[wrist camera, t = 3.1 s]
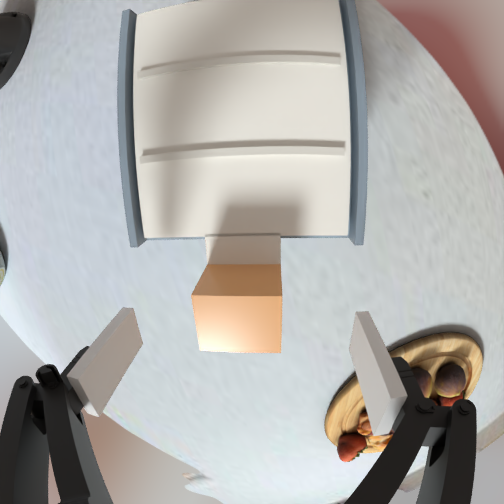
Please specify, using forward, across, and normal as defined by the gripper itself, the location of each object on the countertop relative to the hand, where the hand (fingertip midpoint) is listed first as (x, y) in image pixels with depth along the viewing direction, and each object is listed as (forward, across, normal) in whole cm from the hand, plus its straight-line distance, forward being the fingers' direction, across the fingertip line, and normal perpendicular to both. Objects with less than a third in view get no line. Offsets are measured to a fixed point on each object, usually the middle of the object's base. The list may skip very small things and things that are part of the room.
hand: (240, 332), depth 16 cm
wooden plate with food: (+18, +26, -30) cm, 44 cm away
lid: (+7, 0, +10) cm, 12 cm away
